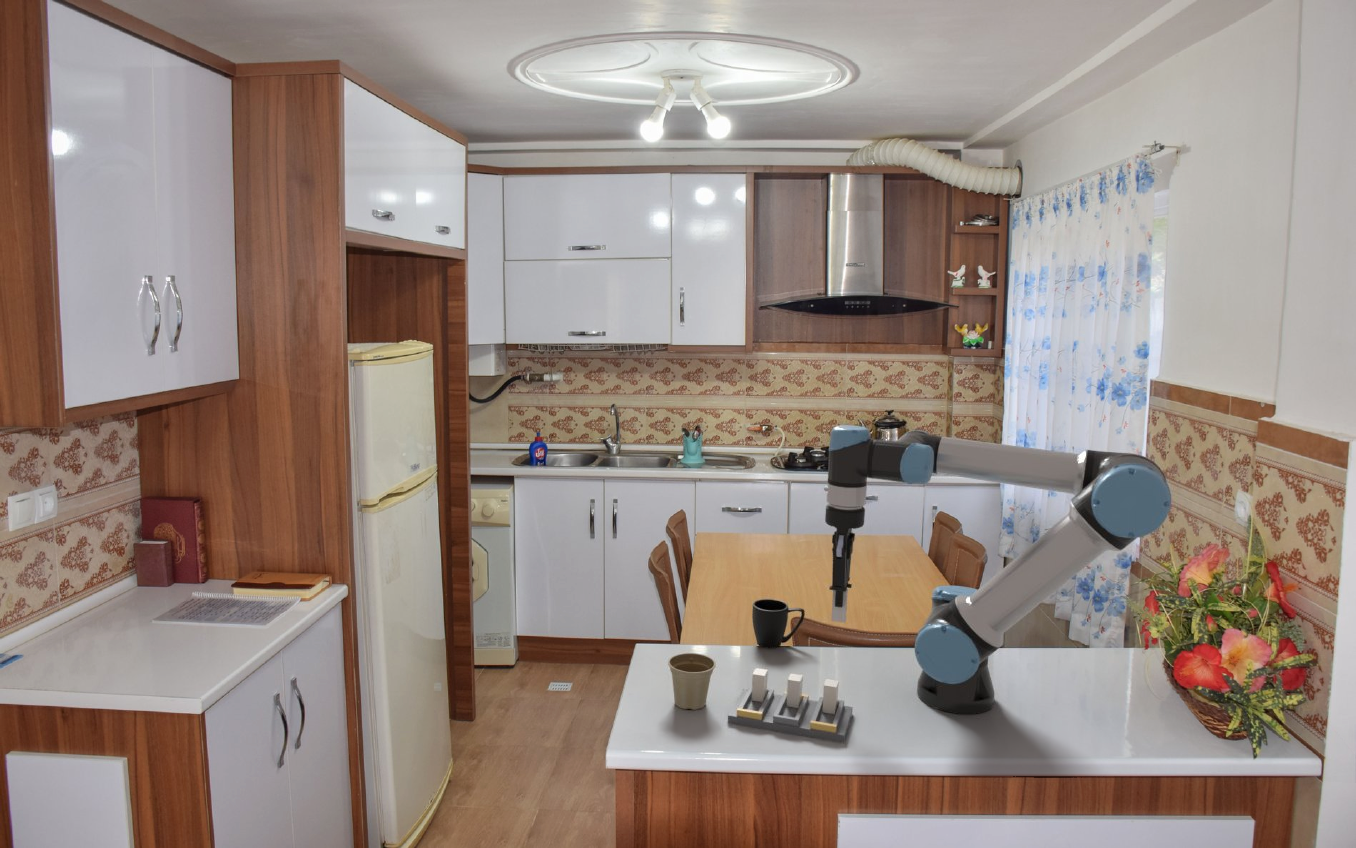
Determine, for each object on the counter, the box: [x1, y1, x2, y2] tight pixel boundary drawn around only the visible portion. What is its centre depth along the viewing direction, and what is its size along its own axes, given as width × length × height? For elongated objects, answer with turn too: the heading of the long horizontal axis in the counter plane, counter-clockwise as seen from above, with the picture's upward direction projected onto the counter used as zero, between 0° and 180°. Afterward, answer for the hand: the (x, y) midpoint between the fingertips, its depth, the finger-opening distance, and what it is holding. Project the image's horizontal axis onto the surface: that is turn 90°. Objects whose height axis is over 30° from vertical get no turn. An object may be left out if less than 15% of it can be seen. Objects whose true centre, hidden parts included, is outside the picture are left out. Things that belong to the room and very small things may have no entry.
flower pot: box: [667, 652, 717, 711], centre depth 180 cm, size 9×9×9 cm
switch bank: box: [727, 685, 854, 744], centre depth 175 cm, size 22×12×3 cm, turn 72°
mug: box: [751, 598, 805, 649], centre depth 210 cm, size 8×12×10 cm
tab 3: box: [822, 678, 839, 714], centre depth 175 cm, size 2×3×6 cm
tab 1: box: [751, 667, 769, 702], centre depth 179 cm, size 2×3×6 cm
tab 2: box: [786, 673, 804, 708], centre depth 177 cm, size 2×3×6 cm
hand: (838, 620), depth 180 cm, fingers closed
